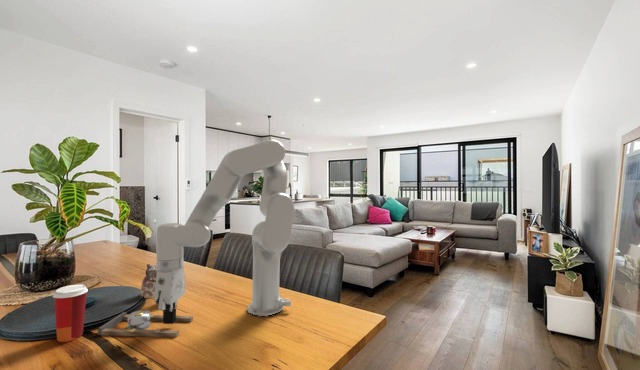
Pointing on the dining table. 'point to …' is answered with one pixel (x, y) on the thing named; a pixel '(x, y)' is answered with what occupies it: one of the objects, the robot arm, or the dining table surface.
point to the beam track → (136, 332)
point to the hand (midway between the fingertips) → (169, 322)
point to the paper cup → (70, 312)
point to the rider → (139, 320)
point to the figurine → (149, 282)
